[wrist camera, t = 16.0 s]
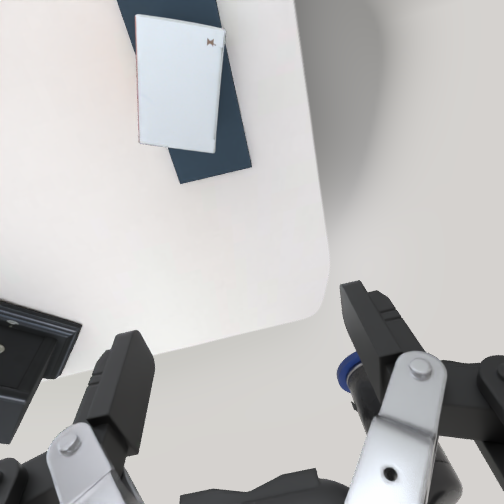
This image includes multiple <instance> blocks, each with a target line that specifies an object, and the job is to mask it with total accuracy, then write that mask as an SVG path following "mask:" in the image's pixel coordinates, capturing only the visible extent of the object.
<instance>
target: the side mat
mask: <svg viewBox="0 0 504 504" xmlns="http://www.w3.org/2000/svg"><path fill="white" fill-rule="evenodd" d="M117 2H118V5H119V8H120V11H121V14H122V17H123V20H124V23H125V25H126V28H127V31H128V34H129V37H130V40H131V43H132V46H133V49H134V51H135V54H136V35H135V15H137V14H141V15H149V16H156V17H162V18H169V19H175V20H181V21H187V22H193V23H198V24H203V25H208V26H213V27H218V28H222V27H221V22H220V18H219V13H218V8H217V4H216V0H117ZM168 150H169V153H170V155H171V158H172V161H173V164H174V167H175V170H176V173H177V176H178V179H179V181H180V184H183V183H187V182H191V181H195V180H200V179H204V178H208V177H212V176H216V175H221V174H225V173H229V172H233V171H237V170H242V169H246V168H250V167H252V165H251V160H250V156H249V151H248V147H247V142H246V137H245V133H244V128H243V124H242V119H241V114H240V110H239V105H238V101H237V96H236V91H235V87H234V82H233V78H232V73H231V68H230V64H229V59H228V54H227V50H226V45H225V44H224V52H223V63H222V74H221V84H220V95H219V107H218V118H217V130H216V145H215V153H207V152H199V151H191V150H183V149H176V148H168Z"/></svg>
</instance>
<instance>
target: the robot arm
mask: <svg viewBox="0 0 504 504" xmlns="http://www.w3.org/2000/svg"><path fill="white" fill-rule="evenodd" d="M340 295H341V305H342V314H343V319H344V323H345V326H346V329H347V331H348V333H349V336H350V338H351V340H352V342H353V344H354V347H355V349H356V351H357V353H358V355H359V358H360V360H361V361H359V362H358V363H356V364H355V365H353V366H352V367H351V368H350V369H349V371H348V372H347V374H346V383H347V386H348V388H349V390H350V392H351V395H352V397H353V400H354V403H355V404H354V403H353V402H351V403H352V405H353V408H354V410H356V411H357V412H358V413H359V416H360V419H361V421H362V423H363V426H364V429H365V432H366V434H367V437H366V440H365V443H364V446H363V449H362V452H361V455H360V458H359V461H358V464H357V467H356V470H355V473H354V476H353V479H352V483H351V485H350V488H349V487H347V486H345V485H343V484H340V483H338V482H335V481H331V480H327V479H320V478H318V476H317V471H316V468H313V469H308V470H303V471H298V472H293V473H288V474H283V475H281V476H279V477H277V478H275V479H273V480H271V481H269V482H267V483H265V484H264V485H262V486H259V487H258V488H256V489H254V490H252V491H249V492H239V491H229V490H219V489H209V490H205V491H200V492H195V493H190V494H185V495H181V496H180V504H456V503H457V502H458V500H459V499H460V497H461V495H462V485H461V482H460V480H459V478H458V476H457V475H456V473H455V471H454V469H453V467H452V466H451V464H450V462H449V460H448V458H447V456H446V455H445V453H444V451H443V449H442V447H441V446H440V444H439V442H438V439H439V435H440V436H448V437H455V438H464V439H471V440H474V441H475V443H476V444H477V446H478V448H479V450H480V451H481V453H482V455H483V456H484V458H485V460H486V462H487V463H488V465H489V467H490V468H491V470H492V472H493V473H494V475H495V477H496V479H497V480H498V482H499V484H500V486H501V487H502V489H503V491H504V356H503V355H496V356H490V357H487V358H485V359H484V360H483V361H482V362H481V363H470V364H467V363H459V362H454V361H447V360H441V361H440V360H439V359H438V358H437V357H435V356H433V355H431V354H429V353H426V352H425V351H424V349H423V348H422V346H421V345H420V343H419V342H418V341H417V339H416V338H415V336H414V335H413V333H412V332H411V330H410V329H409V327H408V326H407V324H406V323H405V321H404V320H403V318H401V315H400V314H399V313H398V311H397V310H396V309H395V307H394V305H393V304H392V302H391V301H390V299H389V298H388V297H387V296H385V295H383V294H382V293H380V292H379V291H377V290H376V291H372V292H367V291H366V289H365V287H364V286H363V284H362V283H361V281H360V280H358V281H354V282H349V283H345V284H341V285H340ZM154 372H155V363H154V358H153V356H152V354H151V352H150V350H149V348H148V346H147V345H146V343H145V341H144V339H143V337H142V335H141V334H140V332H139V331H138V330H134V331H130V332H125V333H121V334H117V335H116V337H115V339H114V342H113V345H112V348H111V349H110V350H106V351H105V352H104V354H103V355H102V356H101V357H100V359H99V360H98V361H97V363H96V365H95V368H94V371H93V373H92V377H91V378H90V381H89V383H88V385H89V386H88V387H87V389H86V391H85V394H84V396H83V399H82V401H81V404H80V407H79V409H78V412H77V414H76V417H75V420H74V422H73V424H72V425H71V426H69V427H67V428H66V429H64V430H63V431H62V432H60V433H59V434H58V435H57V436H56V438H55V439H54V440H53V441H52V443H51V444H50V446H49V448H48V451H46V452H45V453H43V454H41V455H39V456H37V457H35V458H33V459H31V460H29V461H27V462H25V463H23V464H20V463H19V462H18V461H17V460H15V459H14V458H5V459H3V460H0V504H144V502H143V500H142V498H141V496H140V495H139V493H138V491H137V489H136V487H135V485H134V484H133V482H132V480H131V478H130V476H129V474H128V472H127V471H126V469H125V468H124V463H125V458H126V457H127V456H132V455H137V454H138V453H139V448H140V442H141V438H142V433H143V428H144V423H145V418H146V412H147V408H148V403H149V397H150V392H151V387H152V382H153V377H154Z"/></svg>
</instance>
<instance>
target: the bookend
mask: <svg viewBox="0 0 504 504" xmlns="http://www.w3.org/2000/svg"><path fill="white" fill-rule="evenodd" d="M81 327H82V325H79V324H77V323H74V322H70V321H66V320H63V319H60V318H56V317H52V316H49V315H46V314H42V313H39V312H36V311H32V310H28V309H25V308H22V307H19V306H15V305H12V304H8V303H5V302H1V301H0V443H2V444H10V442H11V440H12V439H13V437H14V435H15V433H16V431H17V429H18V427H19V425H20V423H21V421H22V419H23V416H24V414H25V412H26V410H27V408H28V406H29V404H30V402H31V400H32V398H33V396H34V394H35V392H36V390H37V388H38V386H39V384H40V382H41V380H42V378H46V379H56V378H57V377H58V376H60V375H61V374H62V371H63V369H64V366H65V364H66V362H67V360H68V357H69V355H70V353H71V351H72V349H73V347H74V344H75V342H76V340H77V337H78V334H79V332H80V329H81Z"/></svg>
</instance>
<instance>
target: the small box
mask: <svg viewBox="0 0 504 504" xmlns="http://www.w3.org/2000/svg"><path fill="white" fill-rule="evenodd" d="M135 35H136V67H137V99H138V130H139V143H140V144H146V145H153V146H161V147H168V148H176V149H183V150H191V151H199V152H207V153H215V145H216V130H217V118H218V107H219V95H220V84H221V74H222V63H223V52H224V44H225V36H226V30H225V29H223V28H218V27H213V26H208V25H203V24H198V23H193V22H187V21H181V20H175V19H169V18H162V17H156V16H149V15H141V14H137V15H135Z"/></svg>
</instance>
